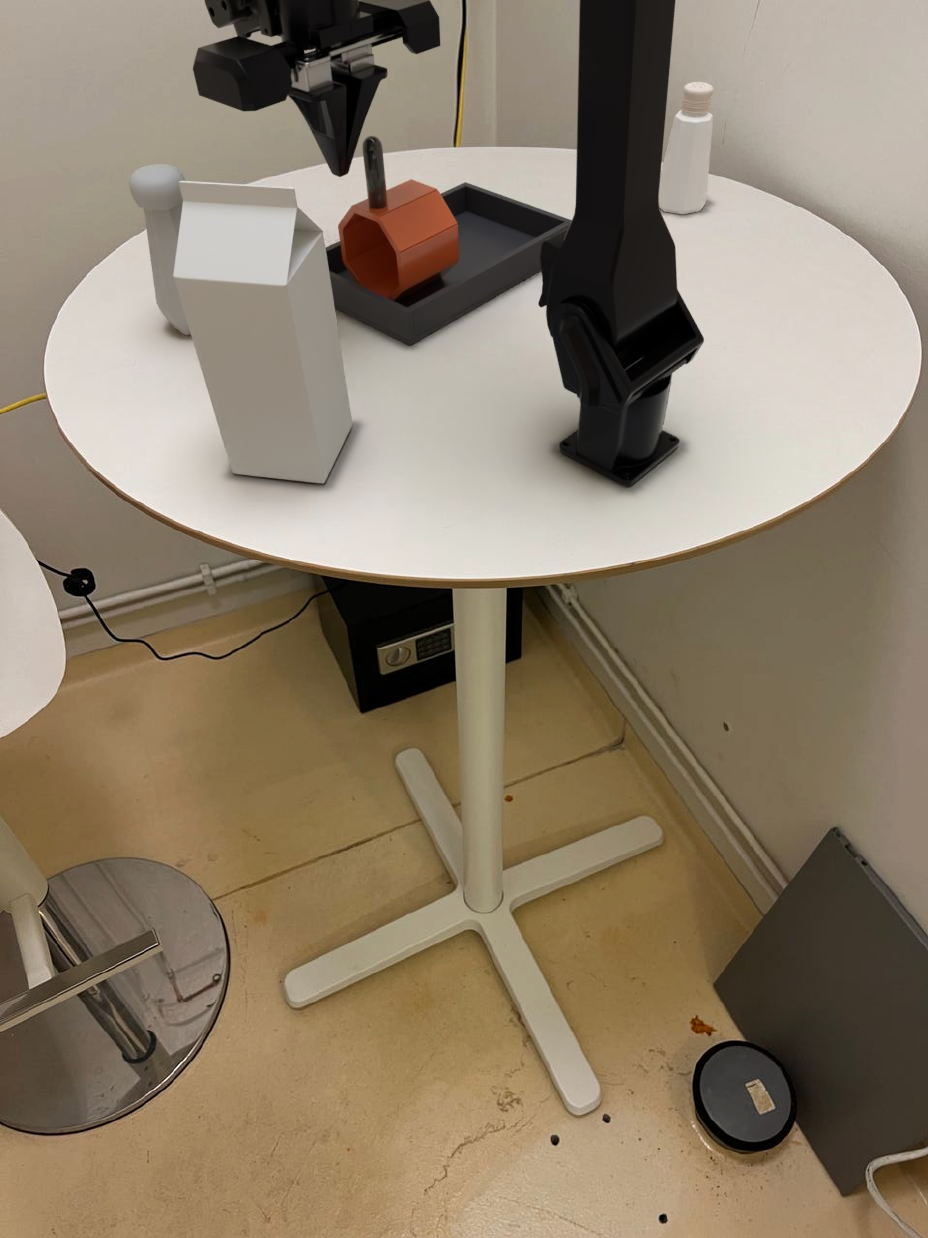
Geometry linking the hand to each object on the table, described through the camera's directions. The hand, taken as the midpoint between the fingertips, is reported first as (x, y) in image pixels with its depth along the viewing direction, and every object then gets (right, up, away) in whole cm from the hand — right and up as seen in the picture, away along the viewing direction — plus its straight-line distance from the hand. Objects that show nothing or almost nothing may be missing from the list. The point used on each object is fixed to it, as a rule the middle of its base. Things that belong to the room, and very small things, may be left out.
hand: (340, 174), depth 67 cm
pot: (+6, +2, +8) cm, 10 cm away
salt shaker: (-14, -9, +9) cm, 19 cm away
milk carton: (-3, -23, -4) cm, 23 cm away
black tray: (+8, -2, +14) cm, 16 cm away
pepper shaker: (+33, +9, +22) cm, 41 cm away
